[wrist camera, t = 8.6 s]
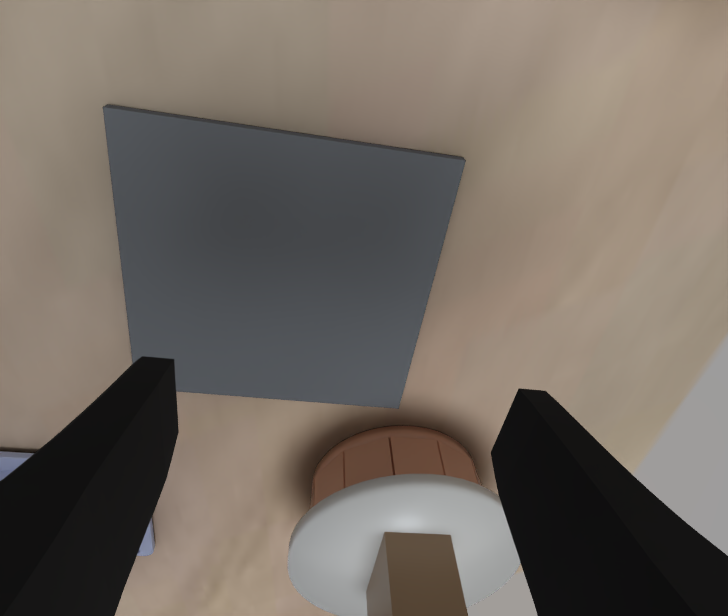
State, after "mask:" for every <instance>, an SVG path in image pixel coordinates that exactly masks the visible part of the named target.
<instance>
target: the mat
mask: <svg viewBox="0 0 728 616" xmlns="http://www.w3.org/2000/svg"><path fill="white" fill-rule="evenodd" d="M103 112H104V121H105V129H106V138H107V147H108V155H109V164H110V172H111V181H112V190H113V198H114V207H115V215H116V224H117V233H118V241H119V250H120V258H121V267H122V276H123V284H124V293H125V301H126V310H127V319H128V327H129V336H130V344H131V353H132V362H133V363H134V362H135V361H136V360H138V359H139V358H140V357H142V356H146V357H157V358H169V359H174V363H175V381H176V391H178V392H191V393H204V394H217V395H230V396H243V397H255V398H268V399H281V400H294V401H307V402H320V403H332V404H345V405H358V406H371V407H384V408H397V409H399V405H400V401H401V398H402V394H403V390H404V387H405V383H406V379H407V375H408V372H409V368H410V364H411V361H412V357H413V353H414V350H415V346H416V342H417V339H418V335H419V331H420V327H421V324H422V320H423V316H424V313H425V309H426V305H427V302H428V298H429V294H430V291H431V287H432V283H433V279H434V276H435V272H436V268H437V265H438V261H439V257H440V254H441V250H442V246H443V243H444V239H445V235H446V231H447V228H448V224H449V220H450V217H451V213H452V209H453V206H454V202H455V198H456V194H457V191H458V187H459V183H460V180H461V176H462V172H463V169H464V165H465V161H466V160H465V159H464V158H463V157H458V156H452V155H445V154H438V153H432V152H425V151H418V150H411V149H405V148H398V147H391V146H384V145H378V144H371V143H364V142H357V141H351V140H344V139H337V138H331V137H324V136H317V135H310V134H304V133H297V132H290V131H283V130H277V129H270V128H263V127H256V126H250V125H243V124H236V123H230V122H223V121H216V120H209V119H203V118H196V117H189V116H182V115H176V114H169V113H162V112H155V111H149V110H142V109H135V108H129V107H122V106H115V105H108V104H107V105H106V106H104V107H103Z"/></svg>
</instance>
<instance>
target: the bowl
mask: <svg viewBox="0 0 728 616" xmlns="http://www.w3.org/2000/svg"><path fill="white" fill-rule="evenodd" d="M401 474H436V475H446V476H451V477H456V478H461V479H464V480H467V481H471V482H474V483H476V484H479V485H481V482H480V480H479V477H478V475H477V472H476V469H475V465H474V462H473V459H472V458H471V456H470V454H469V452H468V451H467V450H466V449H465V448H464V447H463V446H462V445H461V444H460V443H459V442H458V441H456V440H455V439H453V438H452V437H450V436H448V435H446V434H443V433H441V432H438V431H435V430H432V429H428V428H423V427H416V426H388V427H381V428H376V429H372V430H368V431H364V432H362V433H359V434H356V435H354V436H352V437H349V438H347V439H345V440H344V441H342V442H340V443H339V444H337V445H336V446H335V447H333V448H332V449H331V450H330V451H328V452H327V453H326V455H325V456H324V457H323V458H322V459H321V461H320V462H319V463H318V465H317V467H316V469H315V471H314V475H313V480H312V495H311V501H310V509H311V508H312V507H313V506H315V505H316V504H317V503H319V502H320V501H321V500H323V499H325V498H326V497H328V496H330V495H331V494H333V493H335V492H337V491H340V490H342V489H344V488H346V487H349V486H351V485H354V484H357V483H360V482H363V481H367V480H371V479H375V478H379V477H386V476H392V475H401ZM481 486H482V485H481Z"/></svg>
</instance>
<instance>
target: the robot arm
mask: <svg viewBox="0 0 728 616" xmlns="http://www.w3.org/2000/svg"><path fill="white" fill-rule="evenodd" d="M177 435H178V415H177V398H176V381H175V363H174V359H169V358H157V357H146V356H142V357H140V358H139V359H138V360H136V361H135V362H134V363H133V364H132V365H131V366H130V367H129V368H128V369H127V370H126V371H125V372H124V373H123V374H122V375H121V376H120V377H119V378H118V379H117V380H116V381H115V382H114V383H113V384H112V385H111V386H110V387H109V388H108V389H107V390H106V391H104V392H103V393H102V394H101V395H100V396H99V397H98V398H97V399H96V400H95V401H94V402H93V403H92V404H91V405H90V406H88V407H87V408H86V409H85V410H84V411H83V412H82V413H81V414H80V415H78V416H77V417H76V418H75V419H74V420H73V421H72V422H71V423H70V424H68V425H67V426H66V427H65V428H64V429H63V430H62V431H61V432H60V433H58V434H57V435H56V436H55V437H54V438H53V439H51V440H50V441H49V442H48V443H47V444H45V445H44V446H43V447H42V448H41V449H39V450H38V451H37V452H36V453H20V452H3V451H0V616H114V615H115V612H116V610H117V607H118V604H119V601H120V598H121V595H122V592H123V590H124V587H125V584H126V582H127V579H128V577H129V574H130V572H131V569H132V566H133V564H134V561H135V559H136V556H148V555H151V554H152V553H153V551H154V548H155V542H154V533H153V524H152V515H153V512H154V510H155V507H156V505H157V502H158V499H159V497H160V494H161V492H162V489H163V486H164V484H165V481H166V478H167V474H168V470H169V467H170V463H171V459H172V455H173V451H174V447H175V443H176V439H177ZM491 456H492V462H493V468H494V473H495V479H496V484H497V488H498V493H499V498H500V501H501V504H502V507H503V511H504V514H505V517H506V520H507V523H508V526H509V529H510V532H511V535H512V538H513V541H514V544H515V547H516V550H517V553H518V556H519V559H520V562H521V565H522V568H523V571H524V574H525V577H526V580H527V583H528V586H529V589H530V592H531V595H532V598H533V601H534V604H535V608H536V611H537V615H538V616H728V556H727V555H726V554H725V553H723V552H722V551H721V550H720V549H718V548H717V547H716V546H714V545H713V544H712V543H711V542H709V541H708V540H707V539H706V538H704V537H703V536H702V535H700V534H699V533H698V532H697V531H695V530H694V529H693V528H692V527H691V526H690V525H688V524H687V523H686V522H685V521H683V520H682V519H681V518H680V517H679V516H678V515H676V514H675V513H674V512H673V511H672V510H671V509H670V508H668V507H667V506H666V505H665V504H664V503H663V502H662V501H661V500H659V499H658V498H657V497H656V496H655V495H654V494H653V493H651V492H650V491H649V490H648V489H647V488H646V487H645V486H644V485H643V484H642V483H641V482H639V481H638V480H637V479H636V478H635V477H634V476H633V475H632V474H631V473H630V472H629V471H628V470H627V469H626V468H624V467H623V466H622V465H621V464H620V463H619V462H618V461H617V460H616V459H615V458H614V457H613V456H612V455H611V454H610V453H609V452H608V451H607V450H606V449H605V448H604V447H603V446H602V445H601V444H600V443H599V442H598V441H597V440H596V439H595V438H594V437H593V436H592V435H591V434H590V433H589V432H588V431H587V430H586V429H585V428H584V427H583V426H581V425H580V424H579V423H578V422H577V421H576V420H575V419H574V418H573V417H572V416H571V415H570V414H569V413H568V412H567V411H566V410H565V409H564V408H563V407H562V406H561V405H560V404H559V403H558V402H557V401H556V400H555V399H554V398H553V397H552V396H550V395H549V394H548V393H547V392H546V391H541V390H529V389H518V392H517V394H516V396H515V398H514V401H513V403H512V405H511V408H510V410H509V412H508V415H507V417H506V419H505V421H504V424H503V426H502V428H501V431H500V433H499V435H498V437H497V440H496V442H495V444H494V447H493V449H492V451H491Z"/></svg>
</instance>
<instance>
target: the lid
mask: <svg viewBox="0 0 728 616" xmlns="http://www.w3.org/2000/svg"><path fill="white" fill-rule="evenodd" d="M520 563H521V562H520V559H519V556H518V553H517V550H516V547H515V544H514V541H513V538H512V535H511V532H510V529H509V526H508V523H507V520H506V517H505V514H504V511H503V507H502V504H501V501H500V498H499V496H498V495H497V494H495V493H494V492H492V491H491V490H489V489H487V488H485V487H483V486H481V485H479V484H476V483H474V482H471V481H467V480H464V479H461V478H456V477H451V476H446V475H436V474H401V475H392V476H386V477H379V478H375V479H371V480H367V481H363V482H360V483H357V484H354V485H351V486H349V487H346V488H344V489H342V490H340V491H337V492H335V493H333V494H331V495H330V496H328V497H326V498H325V499H323V500H321V501H320V502H319V503H317V504H316V505H315V506H313V507H312V508H311V509H310V510H309V511H308V512H307V513H306V514H305V515H304V516H303V517H302V518H301V519H300V521H299V522H298V523H297V525H296V526H295V528H294V530H293V533H292V535H291V538H290V542H289V552H288V573H289V577H290V580H291V582H292V584H293V586H294V587H295V588H296V590H297V591H298V592H299V593H300V594H301V595H302V596H303V597H304V598H305V599H306V600H308V601H309V602H311V603H312V604H313V605H315V606H317V607H319V608H321V609H323V610H325V611H327V612H330V613H332V614H335V615H338V616H468V613H467V609H466V608H467V607H469V606H472V605H474V604H476V603H478V602H480V601H481V600H483V599H485V598H487V597H489V596H490V595H492V594H493V593H495V592H496V591H497V590H499V589H500V588H501V587H502V586H503V585H505V584H506V582H507V581H508V580H509V579H510V578H511V577H512V576H513V575H514V573H515V572H516V570H517V569H518V567H519V565H520Z"/></svg>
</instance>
